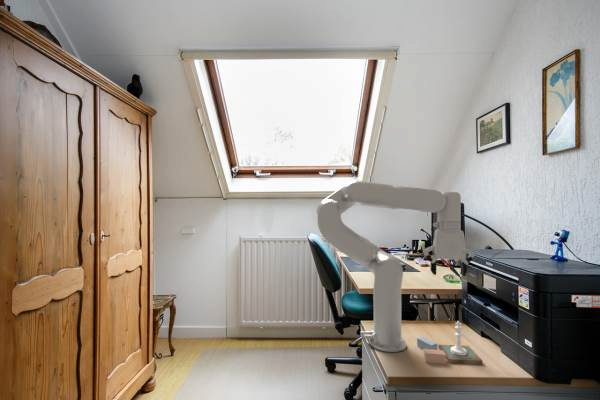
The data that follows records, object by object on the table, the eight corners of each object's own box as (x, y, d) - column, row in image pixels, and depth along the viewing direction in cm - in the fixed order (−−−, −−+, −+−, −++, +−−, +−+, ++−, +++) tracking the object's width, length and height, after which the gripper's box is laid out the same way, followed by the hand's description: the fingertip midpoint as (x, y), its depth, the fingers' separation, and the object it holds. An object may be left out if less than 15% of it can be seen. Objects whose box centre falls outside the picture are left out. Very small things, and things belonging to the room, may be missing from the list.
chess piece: (469, 356, 100) (469, 324, 100) (452, 354, 100) (452, 323, 101) (464, 349, 104) (464, 319, 104) (448, 347, 105) (448, 318, 105)
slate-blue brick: (437, 352, 105) (437, 343, 105) (431, 354, 104) (430, 345, 104) (423, 345, 111) (423, 336, 111) (417, 346, 109) (417, 338, 109)
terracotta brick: (425, 362, 98) (425, 353, 98) (423, 357, 101) (423, 348, 101) (445, 364, 97) (445, 354, 97) (443, 359, 100) (443, 350, 100)
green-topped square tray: (448, 362, 98) (448, 358, 98) (438, 348, 108) (438, 344, 108) (482, 364, 97) (482, 360, 97) (468, 349, 107) (468, 345, 107)
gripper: (425, 226, 109) (425, 275, 109) (479, 227, 106) (478, 278, 106) (421, 225, 116) (420, 271, 116) (471, 226, 113) (470, 273, 113)
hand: (448, 274), depth 111 cm, fingers open, 9 cm apart
